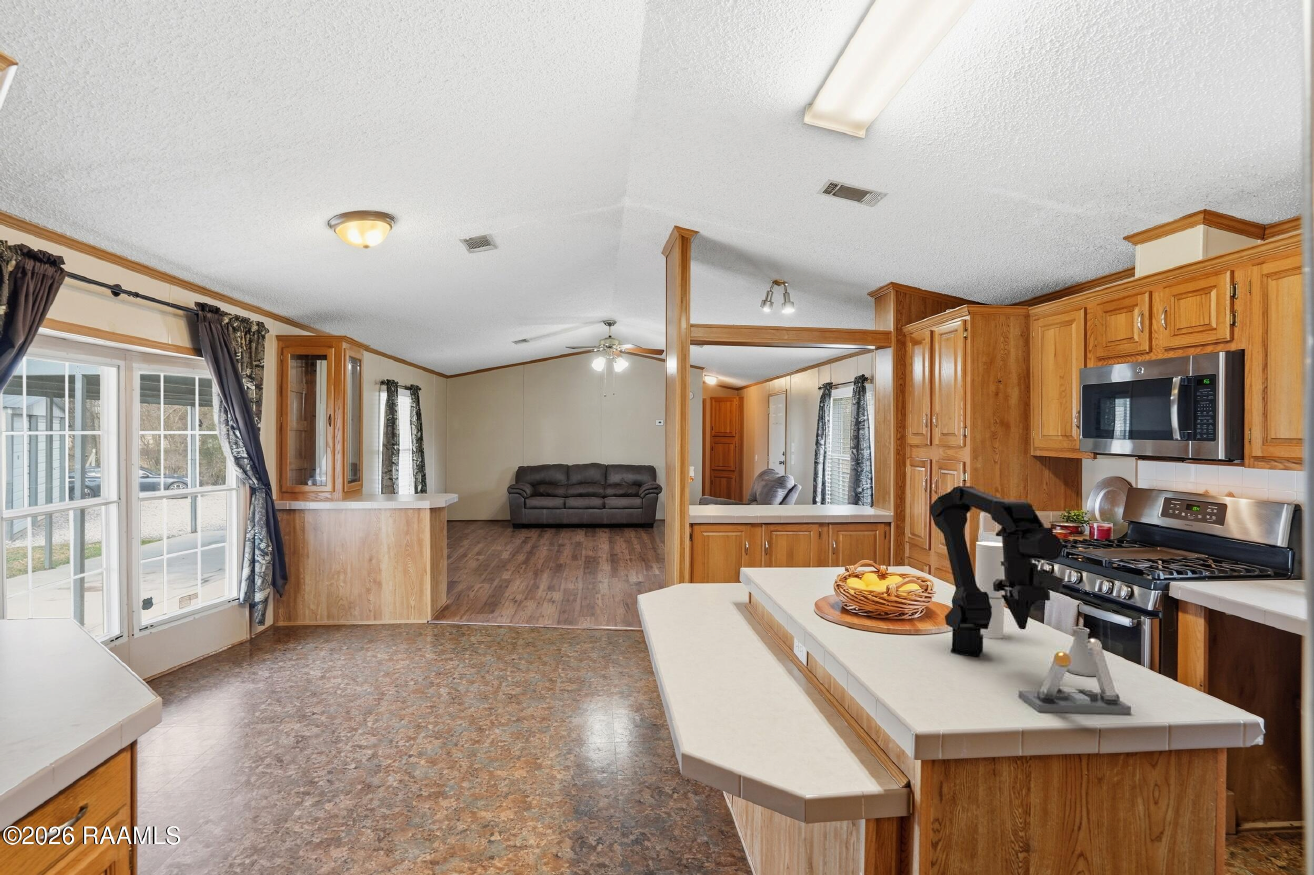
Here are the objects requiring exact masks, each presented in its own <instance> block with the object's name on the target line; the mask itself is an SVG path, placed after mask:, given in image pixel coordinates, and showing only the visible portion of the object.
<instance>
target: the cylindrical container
mask: <svg viewBox="0 0 1314 875" xmlns="http://www.w3.org/2000/svg"><path fill="white" fill-rule="evenodd" d="M975 543H976V544H975V545H976V546H975V580H976V584H977V587H978V588H979V589H980V590H981V591H982V592H987V593H988V595H989V601H990V604H991V606H992V609H991V610H992V616H991V620H990V623H989V626H988V629H981V634H983V638H986V639H987V638H989V639H994V640H995V639H997V638H998V639H1002V638H1004V633H1005V632H1004V631H1005V630H1004V624H1005V620H1004V618H1005V601H1004V599H1003V597H1002V596H1001V595H1005V591H999V592H996V591H993V582H994V581H995V580H996V579H1005V578H1004V566H1001V561H1003V546H1002V543H1001V542H996V541H976V542H975Z"/></svg>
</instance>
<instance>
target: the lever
mask: <svg viewBox="0 0 1314 875" xmlns="http://www.w3.org/2000/svg"><path fill="white" fill-rule="evenodd" d="M1086 648H1087V649H1088V652H1089V655H1090V658H1091V662H1092V665H1093V668H1094V672H1095V675H1096V676H1095V678H1096V682H1097V684H1098V685H1097V686H1098V687H1099V690H1100V691H1099V692H1101V693H1100V698H1101V700H1102V701H1111V702H1119V700H1120V698H1121V697H1120V695H1119V694H1118V692H1117V691H1116V688H1115V684H1114V682H1113V680H1112V676H1111V672H1110V669H1109V667H1108V663H1107V660H1106V657H1105V654H1104V650H1103V645H1102V643H1101V641H1100V640H1099V639H1097V638H1095V637H1091V638H1088V640H1087V641H1086ZM1120 701H1121V700H1120Z"/></svg>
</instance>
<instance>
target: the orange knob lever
mask: <svg viewBox="0 0 1314 875" xmlns="http://www.w3.org/2000/svg"><path fill="white" fill-rule="evenodd" d="M1070 664H1071V658H1070V656H1069V655H1068V653H1067V652H1064V651H1058V652H1056V653H1055V654H1054V656H1053V661H1052V662H1051V665H1050V667H1049V670H1048V672H1047V675H1046V677H1045V679H1044V681H1043V682H1042V685H1041V688H1040V690H1037V691H1038V692H1037V696H1038V698H1039V699H1040V700H1055V699H1056V692H1057V690H1058V688H1059V687H1061V686H1060V685H1061V683H1062V682H1063V679H1064V677H1065V674H1066V672H1067V671H1066V670H1067V668H1068V666H1069V665H1070Z"/></svg>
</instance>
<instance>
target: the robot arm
mask: <svg viewBox="0 0 1314 875" xmlns="http://www.w3.org/2000/svg"><path fill="white" fill-rule="evenodd" d="M973 508H975V509H977V510H979V511H981V512H984V513H986V514H988V515H990V518H991V520H992V521H993V522H995V523H996V524H997V525H999V526H1001V528H999V530H997V531H996V533H995V536H996V537H1001V542H1002V543H1001V544H1002V546H1003V561H1001V566H1004V578H1005V579H996V580H995V581H994V582H993V591H996V592H999V591H1004V595H1001V596H1002V597H1003V599H1004V604H1006V606H1007V609H1008V610H1009V612H1010V614H1011V616H1012V617H1013V620H1014V622H1015V624H1016V625H1017V627H1018V629H1019V630H1027V629H1026V628H1027V625H1028V622H1029V616H1030V612H1031V610H1032V606H1033V605H1035V604H1036V603H1037V602H1040V601H1043V602H1044V601H1046V602H1047V601H1051V592H1050V591H1053V592H1056V593H1061V590H1062V587H1063V583H1064V581H1065V579H1064V578H1062V577H1060V576H1057V575H1054V574H1051V570H1048V569H1045V568H1044V567H1043V568H1042V567H1040V568H1039V569H1038V564H1036V562H1033V561H1034V560H1044V561H1055V560H1057V559H1059V558H1060V557H1061V555H1062V554H1063V551H1064V550H1063V549H1064V545H1063V543H1062V541H1061V539H1060V537H1059V536H1057V534H1055V533H1054V531H1053V530H1054V529H1053V527H1046V526H1045V525H1044V522H1042V520H1041V518H1040V516H1039V515H1038V513H1037V512H1036V511H1035V509H1034V508H1033V505H1032V504H1031V503H1030V502H1028V501H1024V500H1013V499H1006V498H1005V499H1003V498H1001V497H998V496H995V495H993V494H990V493H988V492H985V491H983V490H980V489H979V488H978V489H977V488H976V486H975V487H974V486H973V485H957V486H954V487H953V488H952V489H951V490H950V491H949V492H946V493H943V494H942V495H939V496H938V497H937V498H936V499H935V500H933V502H932V503H931V504H930V508H929V512H930V515H931V517H932V520H933V523H934V526H935V527H936V528H938V530H939V531H940V532H941V533H942V535H943V539H944V544H945V548H946V552H947V556H948V560H949V564H950V569H951V573H952V578H953V582H954V583H953V584H954V587H955V590H954V594H953V596H952V598H951V606H952V608H950V609H949V611H947V613H946V615H944V620H945V624H946V626H948V627H950V628H952V632H951V633H952V637H951V638H952V640H951V648H950V653H953V654H960V655H965V656H971V657H977V658H979V657H981V654H983V652H984V637H983V634H981V629H988V626H989V623H990V620H991V616H992V610H991V609H992V606H991V604H990V601H989V595H988V593H987V592H982V591H981V590H980V589H979V588H978V587H977V584H976V580H975V577H976V575H975V571H974V569H973V568H974V567H973V564H972V560H971V556H970V552H969V551H970V550H969V547H968V543H967V540H966V536H965V528H966V525H967V522H968V514H969V513H970V512H971V511H972V510H973Z"/></svg>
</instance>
